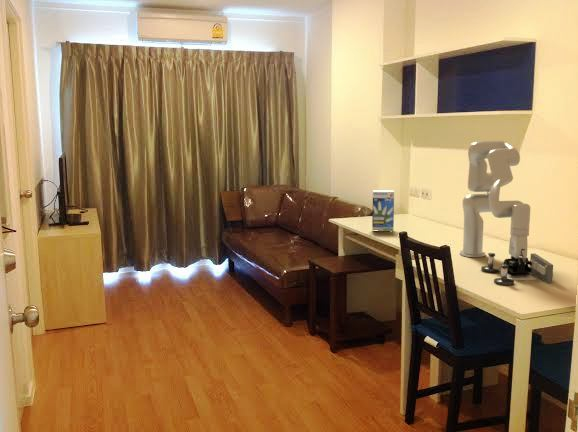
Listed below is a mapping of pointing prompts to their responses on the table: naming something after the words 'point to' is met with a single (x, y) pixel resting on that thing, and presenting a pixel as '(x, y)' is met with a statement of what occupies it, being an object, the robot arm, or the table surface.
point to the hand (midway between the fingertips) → (517, 270)
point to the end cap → (513, 267)
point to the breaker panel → (541, 268)
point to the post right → (504, 277)
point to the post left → (490, 265)
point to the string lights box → (383, 210)
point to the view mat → (520, 277)
